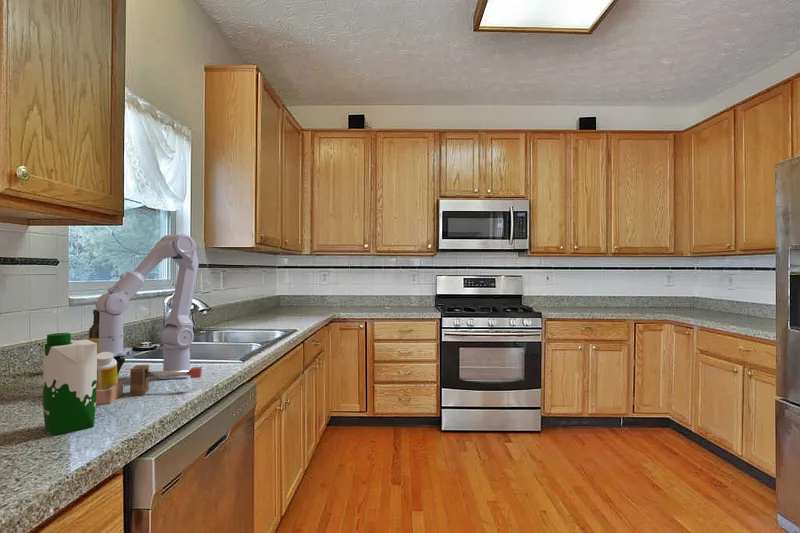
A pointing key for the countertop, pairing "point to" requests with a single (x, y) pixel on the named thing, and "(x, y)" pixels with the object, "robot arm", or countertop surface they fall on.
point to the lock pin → (177, 373)
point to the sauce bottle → (95, 329)
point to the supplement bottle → (106, 371)
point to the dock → (109, 394)
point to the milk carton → (69, 383)
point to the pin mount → (139, 380)
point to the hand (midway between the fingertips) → (110, 385)
